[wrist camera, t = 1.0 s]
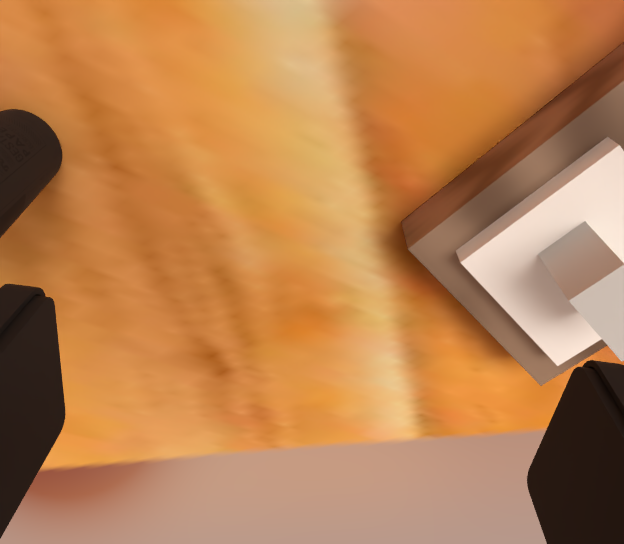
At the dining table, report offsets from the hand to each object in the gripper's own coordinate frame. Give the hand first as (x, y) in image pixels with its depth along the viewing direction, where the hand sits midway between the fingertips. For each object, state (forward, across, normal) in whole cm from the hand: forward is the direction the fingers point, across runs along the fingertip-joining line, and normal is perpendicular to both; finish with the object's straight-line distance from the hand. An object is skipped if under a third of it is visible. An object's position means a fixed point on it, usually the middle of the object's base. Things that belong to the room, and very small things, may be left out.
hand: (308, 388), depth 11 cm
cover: (+23, -16, +7) cm, 29 cm away
